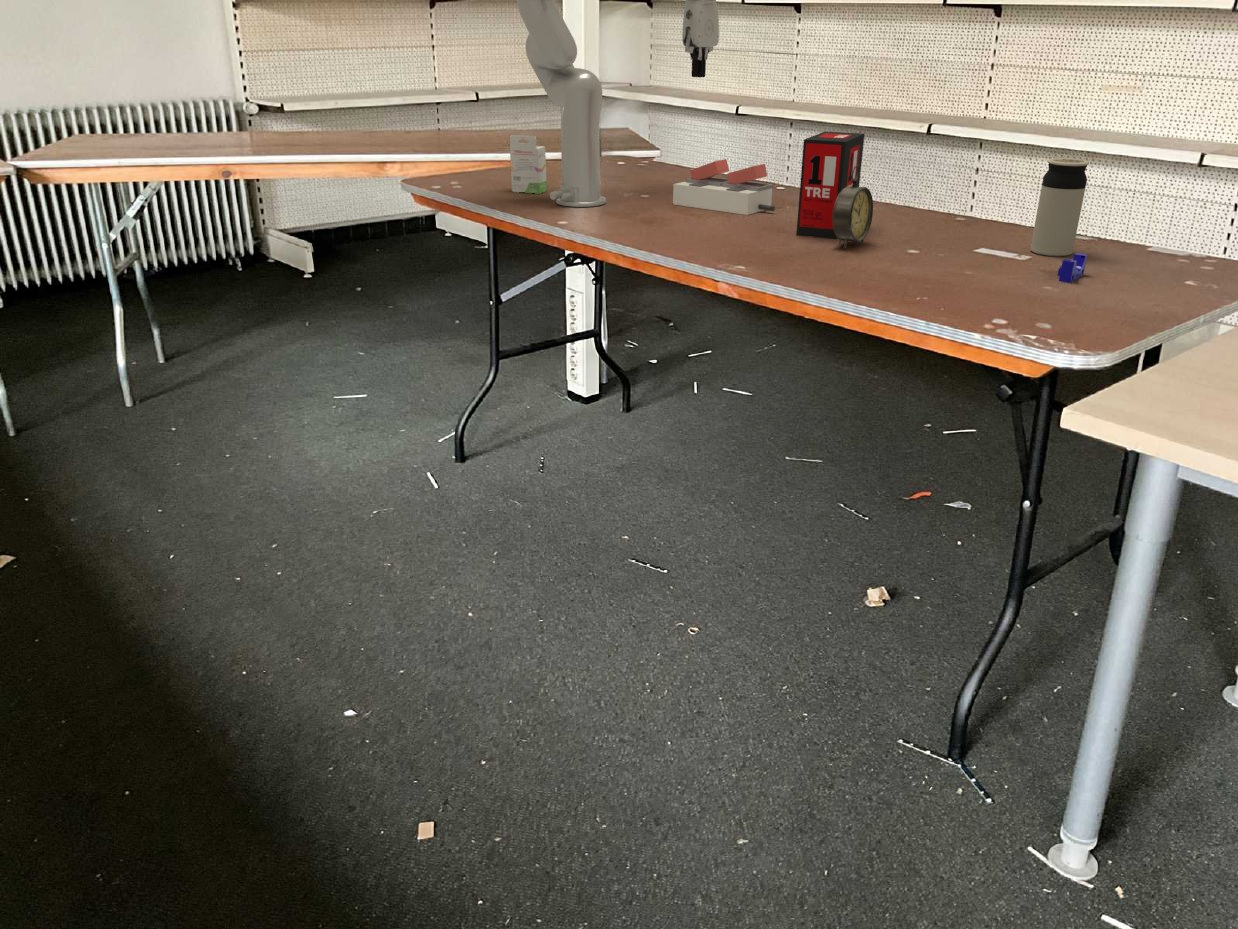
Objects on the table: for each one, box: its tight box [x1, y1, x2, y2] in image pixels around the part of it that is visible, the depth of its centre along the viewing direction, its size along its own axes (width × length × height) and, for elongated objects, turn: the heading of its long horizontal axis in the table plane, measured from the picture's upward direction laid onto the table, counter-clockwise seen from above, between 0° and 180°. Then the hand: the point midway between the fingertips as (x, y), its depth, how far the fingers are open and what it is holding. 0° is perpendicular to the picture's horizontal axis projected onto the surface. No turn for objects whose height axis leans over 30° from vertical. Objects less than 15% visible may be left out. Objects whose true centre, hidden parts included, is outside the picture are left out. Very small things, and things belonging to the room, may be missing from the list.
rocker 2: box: [726, 163, 768, 185], centre depth 238 cm, size 5×8×3 cm, turn 51°
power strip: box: [672, 176, 776, 216], centre depth 241 cm, size 11×26×6 cm, turn 51°
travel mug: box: [1029, 157, 1090, 258], centre depth 194 cm, size 8×8×18 cm
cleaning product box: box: [795, 131, 866, 240], centre depth 213 cm, size 16×9×20 cm, turn 154°
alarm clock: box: [833, 165, 874, 251], centre depth 200 cm, size 11×5×16 cm, turn 143°
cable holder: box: [1057, 252, 1089, 284], centre depth 179 cm, size 8×4×4 cm, turn 140°
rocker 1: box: [689, 158, 730, 180], centre depth 244 cm, size 5×8×3 cm, turn 51°
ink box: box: [509, 134, 548, 195], centre depth 259 cm, size 9×5×15 cm, turn 65°
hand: (698, 76), depth 247 cm, fingers closed
